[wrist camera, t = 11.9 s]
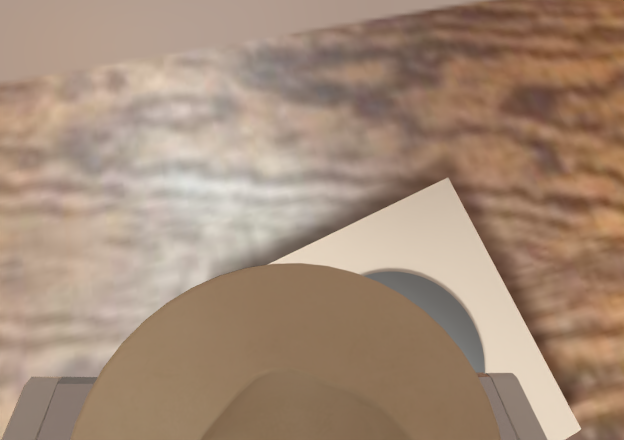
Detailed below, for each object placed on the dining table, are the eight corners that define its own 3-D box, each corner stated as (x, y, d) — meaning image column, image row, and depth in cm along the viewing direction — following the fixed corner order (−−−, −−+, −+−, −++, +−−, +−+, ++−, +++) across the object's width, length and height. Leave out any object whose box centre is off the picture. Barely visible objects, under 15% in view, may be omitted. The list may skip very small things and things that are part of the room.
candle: (160, 303, 15) (0, 273, 5) (355, 284, 16) (526, 226, 6) (172, 518, 14) (5, 945, 5) (379, 487, 15) (624, 800, 5)
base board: (324, 570, 26) (330, 587, 24) (198, 299, 27) (195, 298, 26) (563, 423, 29) (583, 430, 27) (437, 184, 30) (449, 176, 28)
